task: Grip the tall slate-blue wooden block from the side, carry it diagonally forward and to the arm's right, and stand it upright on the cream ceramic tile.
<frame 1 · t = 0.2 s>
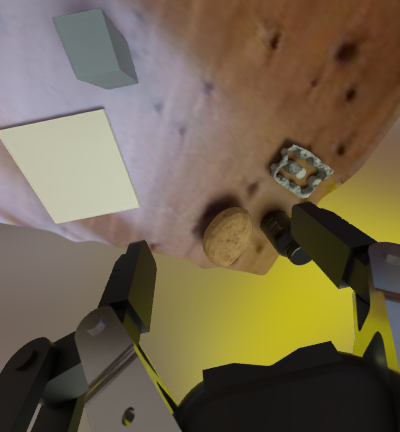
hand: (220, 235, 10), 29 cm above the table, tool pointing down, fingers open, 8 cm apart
supplement bottle: (274, 222, 45), on the table
potato: (224, 224, 44), on the table
slate block: (117, 66, 29), on the table
cream tile: (79, 172, 35), on the table
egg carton: (293, 170, 39), on the table
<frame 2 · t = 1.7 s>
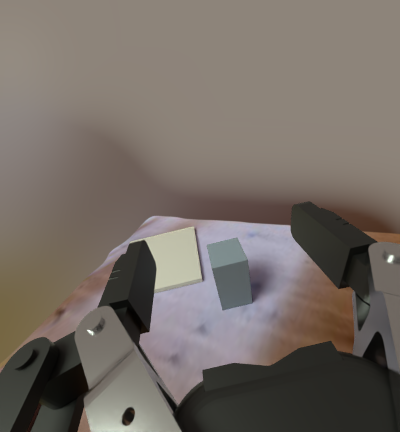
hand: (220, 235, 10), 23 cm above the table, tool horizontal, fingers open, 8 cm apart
slate block: (233, 293, 33), on the table
cream tile: (160, 259, 44), on the table
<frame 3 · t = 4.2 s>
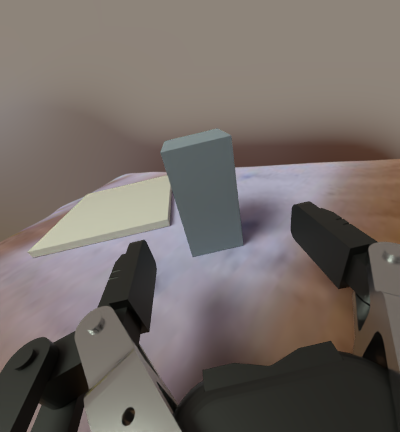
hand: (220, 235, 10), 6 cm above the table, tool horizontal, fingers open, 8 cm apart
slate block: (213, 235, 20), on the table
cream tile: (119, 208, 31), on the table
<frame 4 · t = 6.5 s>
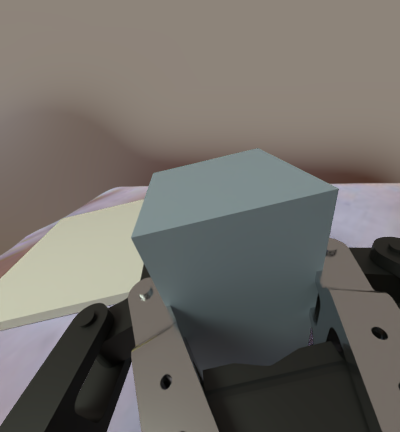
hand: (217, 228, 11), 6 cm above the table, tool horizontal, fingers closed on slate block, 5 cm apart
slate block: (240, 328, 12), on the table, touching gripper
cream tile: (98, 246, 23), on the table
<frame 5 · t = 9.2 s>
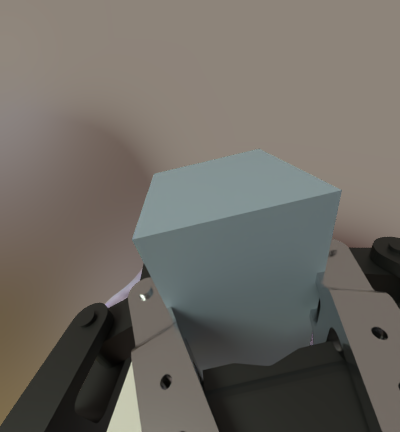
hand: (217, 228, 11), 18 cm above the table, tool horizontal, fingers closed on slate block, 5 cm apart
slate block: (241, 329, 12), point 12 cm above the table, touching gripper
cream tile: (197, 339, 23), on the table
when the fingers open (8 cm above the table, at t = 12.0 s): slate block drops 1 cm, resting on cream tile.
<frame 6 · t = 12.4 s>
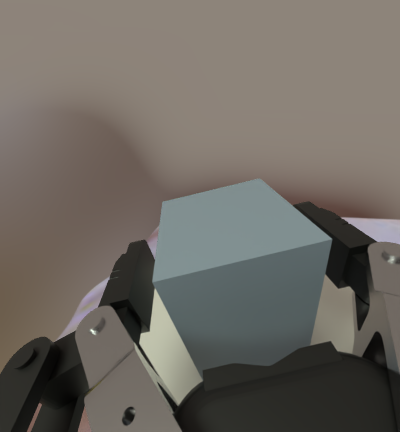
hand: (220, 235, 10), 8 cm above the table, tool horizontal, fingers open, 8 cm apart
slate block: (243, 341, 12), point 1 cm above the table, touching cream tile
cream tile: (243, 347, 13), on the table
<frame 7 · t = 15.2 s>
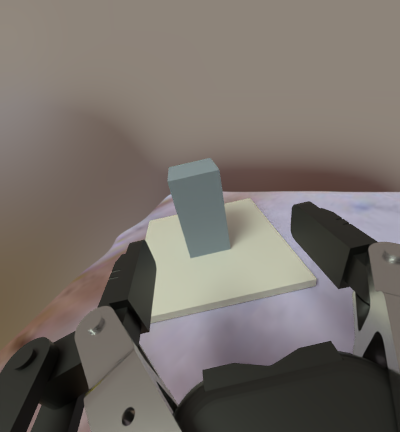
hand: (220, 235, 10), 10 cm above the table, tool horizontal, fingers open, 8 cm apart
slate block: (207, 241, 25), point 1 cm above the table, touching cream tile
cream tile: (208, 246, 25), on the table
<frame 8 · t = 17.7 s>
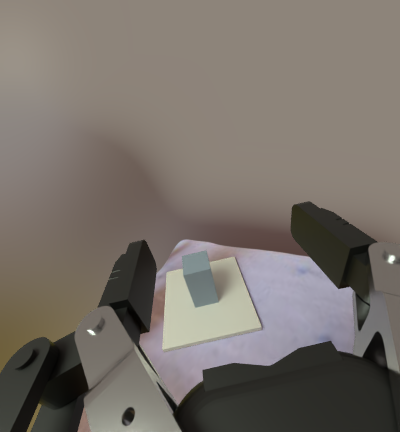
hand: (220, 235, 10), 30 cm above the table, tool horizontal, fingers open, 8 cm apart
slate block: (205, 294, 41), point 1 cm above the table, touching cream tile
cream tile: (205, 297, 41), on the table
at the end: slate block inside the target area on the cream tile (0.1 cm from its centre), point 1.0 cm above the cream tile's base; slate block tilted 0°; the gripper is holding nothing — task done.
